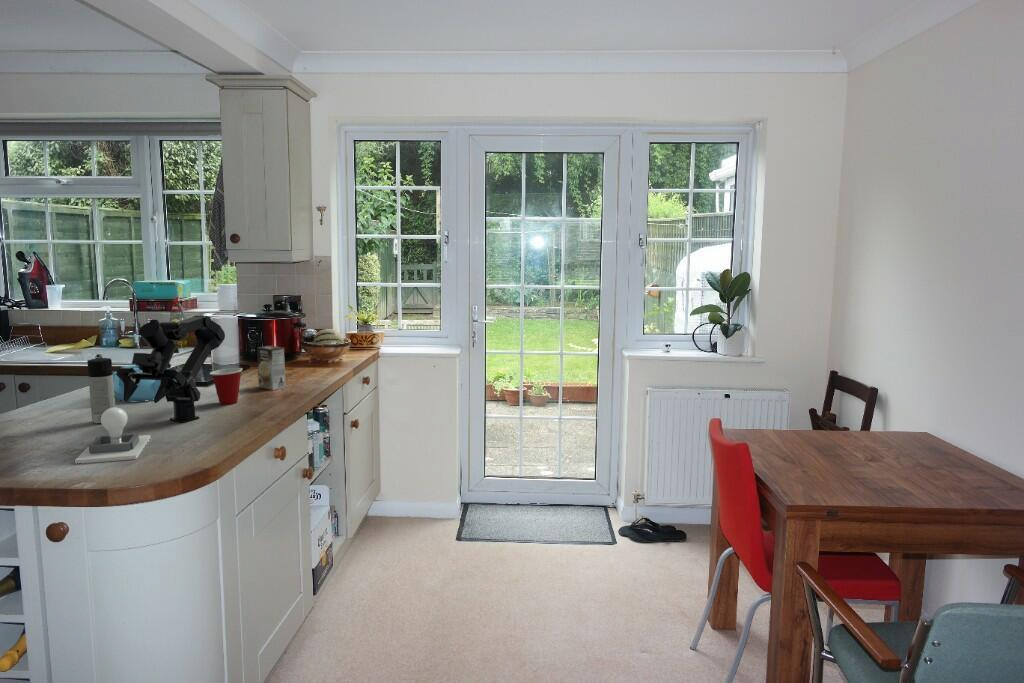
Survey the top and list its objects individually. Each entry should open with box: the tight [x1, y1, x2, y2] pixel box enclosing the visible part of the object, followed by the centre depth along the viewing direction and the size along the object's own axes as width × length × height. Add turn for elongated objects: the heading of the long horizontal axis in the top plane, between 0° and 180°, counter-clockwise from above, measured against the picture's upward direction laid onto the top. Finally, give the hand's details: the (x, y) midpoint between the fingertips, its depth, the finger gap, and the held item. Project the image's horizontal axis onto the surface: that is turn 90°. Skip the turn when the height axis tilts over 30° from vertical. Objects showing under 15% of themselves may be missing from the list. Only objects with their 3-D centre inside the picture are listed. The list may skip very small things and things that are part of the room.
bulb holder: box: [74, 432, 152, 465], centre depth 186 cm, size 20×14×3 cm
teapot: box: [113, 364, 170, 402], centre depth 249 cm, size 19×19×14 cm
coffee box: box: [256, 345, 286, 391], centre depth 267 cm, size 9×6×16 cm
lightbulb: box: [101, 406, 129, 444], centre depth 185 cm, size 6×6×11 cm
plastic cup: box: [209, 367, 243, 406], centre depth 241 cm, size 11×11×12 cm
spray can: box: [86, 357, 116, 424], centre depth 214 cm, size 7×7×20 cm
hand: (139, 401), depth 196 cm, fingers open, 9 cm apart
